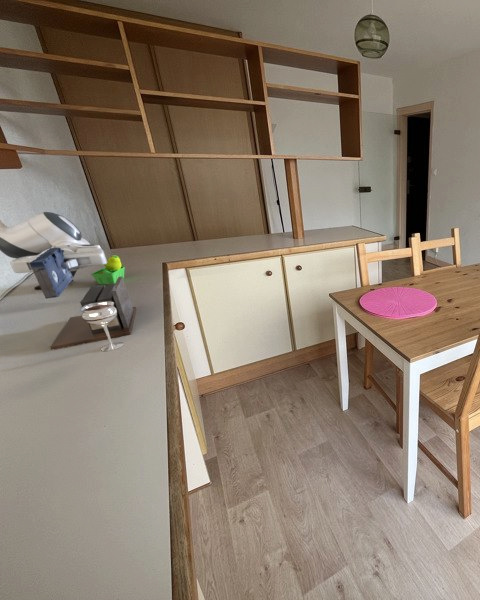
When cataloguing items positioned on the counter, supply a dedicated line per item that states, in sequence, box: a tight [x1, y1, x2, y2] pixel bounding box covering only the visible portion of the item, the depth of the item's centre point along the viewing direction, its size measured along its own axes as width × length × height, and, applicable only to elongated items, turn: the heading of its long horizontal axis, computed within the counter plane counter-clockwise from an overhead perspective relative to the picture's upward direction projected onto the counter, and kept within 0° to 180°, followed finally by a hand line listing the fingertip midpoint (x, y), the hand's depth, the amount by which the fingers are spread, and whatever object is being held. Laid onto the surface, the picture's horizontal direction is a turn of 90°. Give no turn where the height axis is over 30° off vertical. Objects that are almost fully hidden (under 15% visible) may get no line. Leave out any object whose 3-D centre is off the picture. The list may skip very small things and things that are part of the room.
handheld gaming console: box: [33, 270, 78, 290], centre depth 129 cm, size 12×7×10 cm
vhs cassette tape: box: [30, 248, 74, 300], centre depth 88 cm, size 18×3×10 cm, turn 33°
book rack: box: [50, 276, 138, 351], centre depth 94 cm, size 16×22×13 cm
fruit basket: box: [91, 254, 126, 286], centre depth 134 cm, size 11×9×11 cm
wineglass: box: [79, 301, 125, 352], centre depth 83 cm, size 7×7×12 cm
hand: (56, 267), depth 90 cm, fingers closed on vhs cassette tape, 2 cm apart
